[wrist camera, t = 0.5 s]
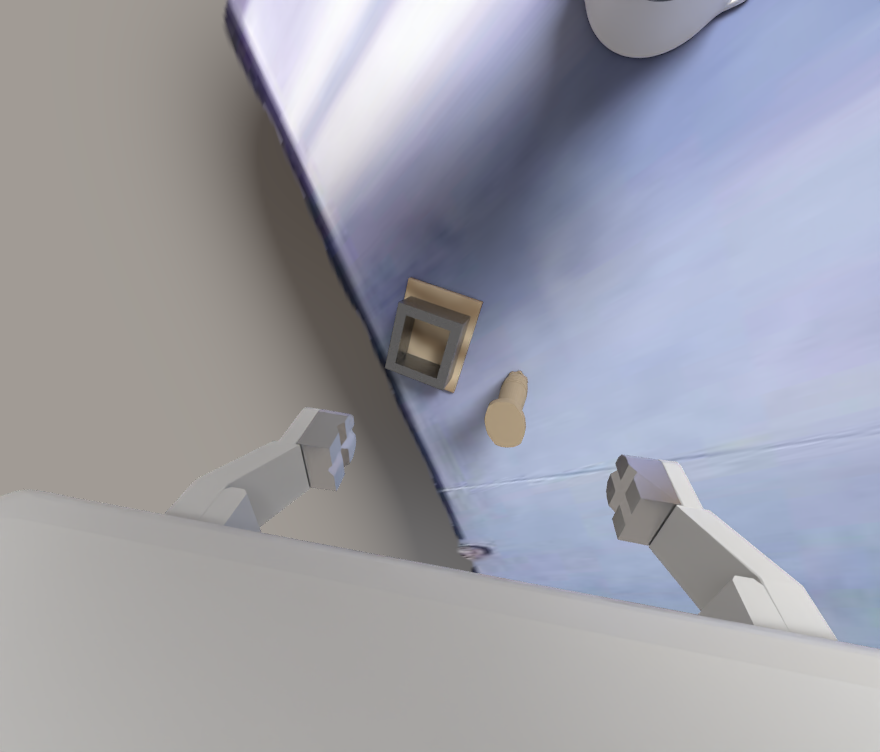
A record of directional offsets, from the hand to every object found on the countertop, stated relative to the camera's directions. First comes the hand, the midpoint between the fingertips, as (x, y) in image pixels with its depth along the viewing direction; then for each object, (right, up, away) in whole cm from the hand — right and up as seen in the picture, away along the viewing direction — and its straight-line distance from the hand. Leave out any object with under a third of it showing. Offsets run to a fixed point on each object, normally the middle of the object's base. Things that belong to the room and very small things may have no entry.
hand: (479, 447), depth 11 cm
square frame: (-3, +8, +48) cm, 49 cm away
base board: (-2, +9, +49) cm, 50 cm away
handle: (+11, +2, +47) cm, 49 cm away
